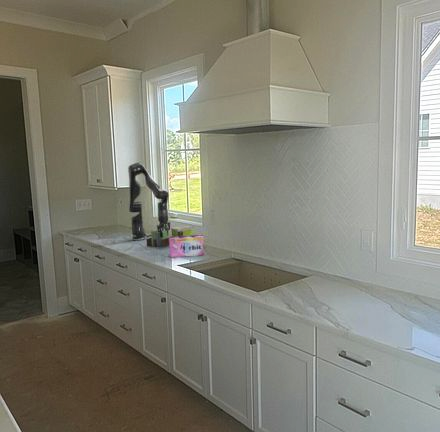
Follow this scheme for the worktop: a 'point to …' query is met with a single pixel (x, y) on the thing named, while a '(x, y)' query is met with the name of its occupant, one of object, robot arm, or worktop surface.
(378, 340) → the worktop surface
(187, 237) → the gum box
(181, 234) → the tea box
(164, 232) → the green book
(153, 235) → the green books
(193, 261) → the worktop surface
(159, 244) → the grey books
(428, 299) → the worktop surface
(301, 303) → the worktop surface
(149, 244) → the book rack
